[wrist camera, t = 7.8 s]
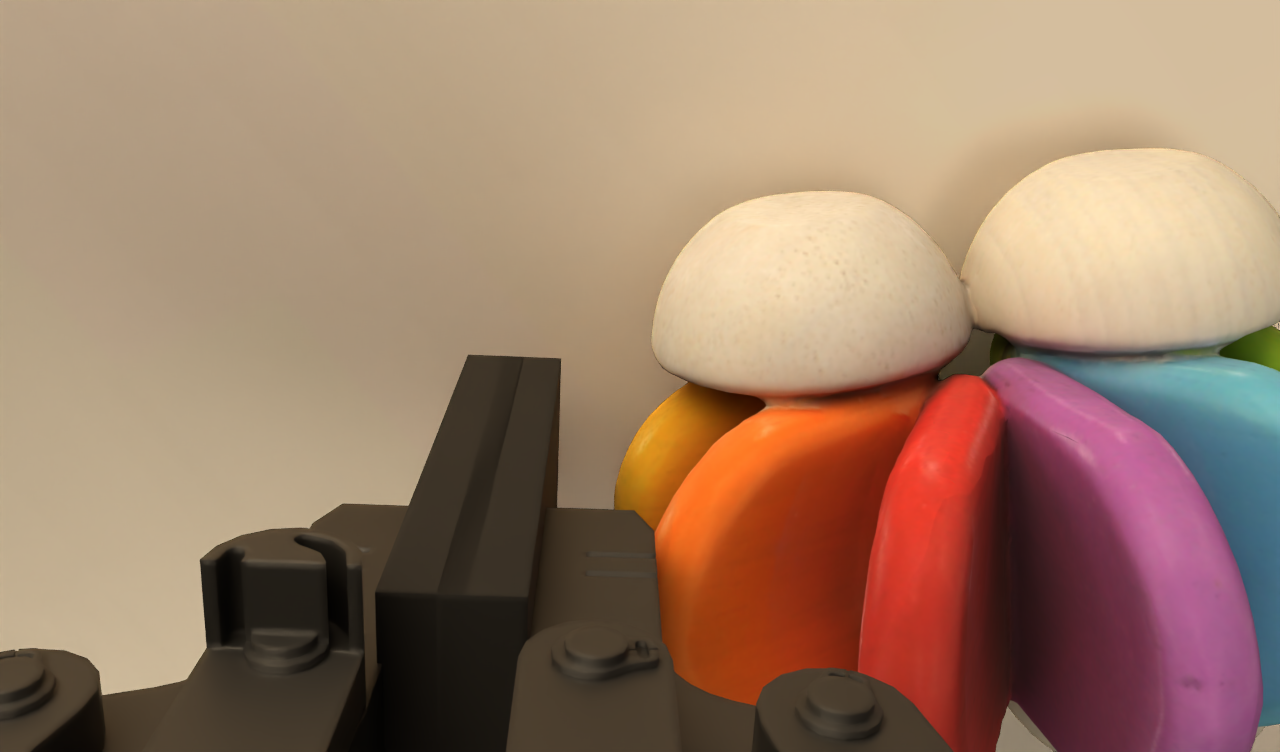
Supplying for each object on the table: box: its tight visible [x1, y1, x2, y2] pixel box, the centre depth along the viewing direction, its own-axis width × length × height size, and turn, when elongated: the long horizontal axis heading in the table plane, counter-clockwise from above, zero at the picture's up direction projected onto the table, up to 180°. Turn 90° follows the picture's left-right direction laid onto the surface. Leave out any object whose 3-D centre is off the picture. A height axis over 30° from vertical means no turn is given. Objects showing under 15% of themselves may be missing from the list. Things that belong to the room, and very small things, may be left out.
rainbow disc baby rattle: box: [614, 148, 1280, 752], centre depth 15 cm, size 8×10×7 cm
